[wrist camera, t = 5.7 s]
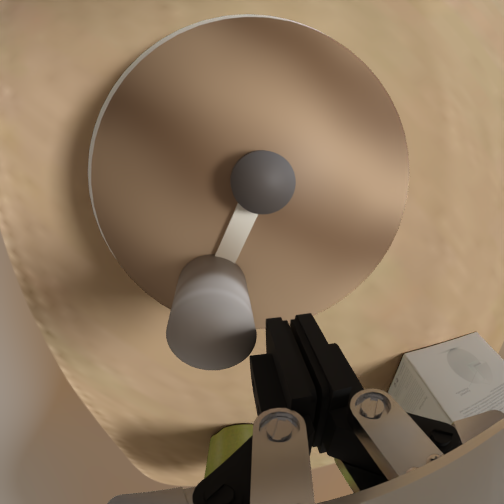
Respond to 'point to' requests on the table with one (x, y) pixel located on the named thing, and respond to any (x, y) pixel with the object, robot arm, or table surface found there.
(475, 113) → the table surface
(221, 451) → the plant pot
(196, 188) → the dial
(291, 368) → the robot arm
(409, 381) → the skincare box
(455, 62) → the table surface
